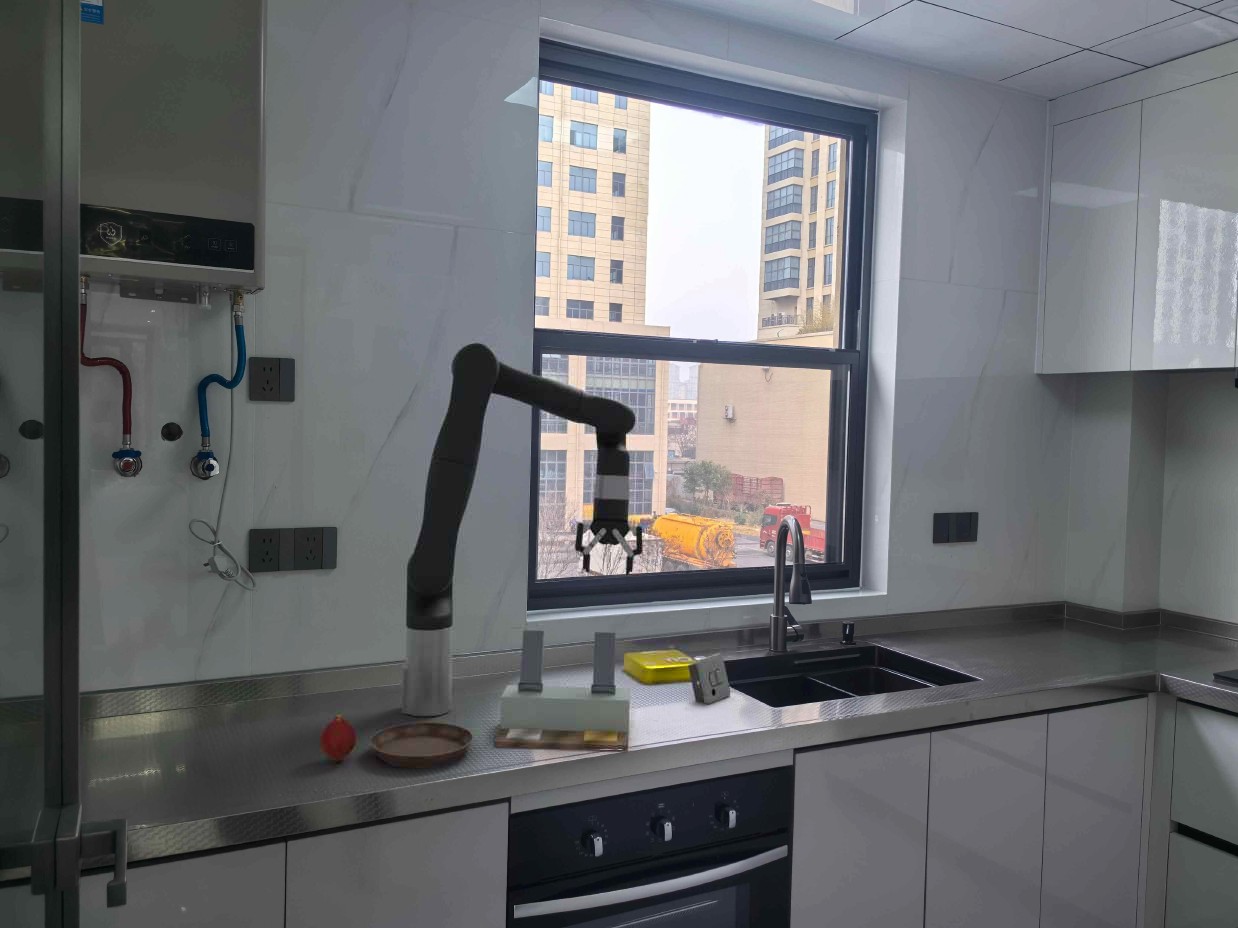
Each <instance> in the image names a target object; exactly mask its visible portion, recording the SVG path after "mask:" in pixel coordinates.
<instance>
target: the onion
mask: <svg viewBox="0 0 1238 928" xmlns="http://www.w3.org/2000/svg"><path fill="white" fill-rule="evenodd" d="M356 741H357V734H356V731H355V728H354V726H353V725H352V724H351V723H350V722H349V721H347V720H346V719H344V718H343V716H342V715H341V714H336V715H335V716H334V717H333V720H332V721H330V722H328V724H327V725H326V726H325V727H324V729H323V730H322V732H321V734H320V739H319V745H320V748H321V750H322V752H323V753H324V754H325V755H326V756H327V757H330V759H332V761H334V762H336V763H337V762H338V763H339V762H340V761H343V760H344V758H346V757H348V756H349V754H350V753H351V752H352V751H353V750H354V748H355V746H356V743H357V742H356Z"/></svg>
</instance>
